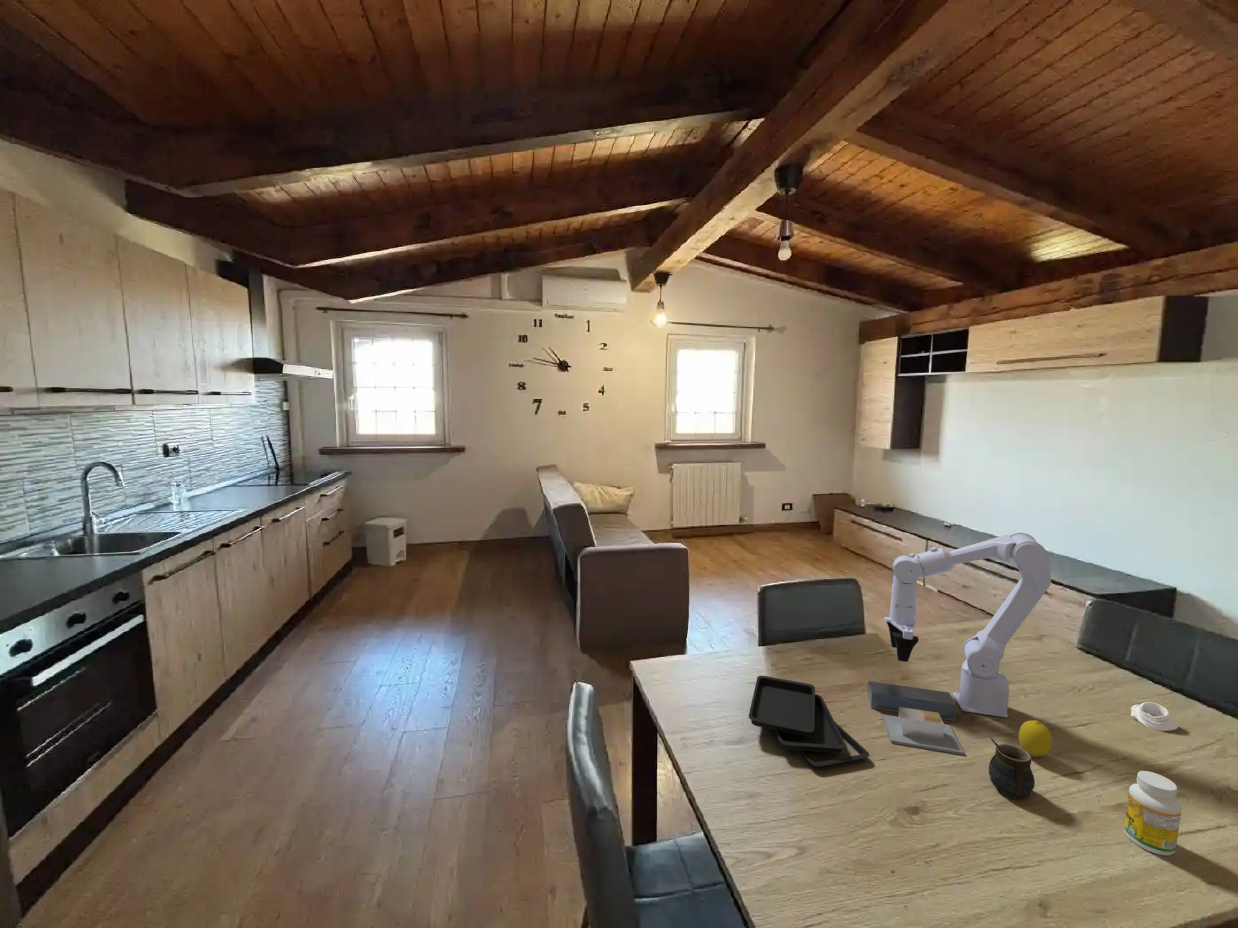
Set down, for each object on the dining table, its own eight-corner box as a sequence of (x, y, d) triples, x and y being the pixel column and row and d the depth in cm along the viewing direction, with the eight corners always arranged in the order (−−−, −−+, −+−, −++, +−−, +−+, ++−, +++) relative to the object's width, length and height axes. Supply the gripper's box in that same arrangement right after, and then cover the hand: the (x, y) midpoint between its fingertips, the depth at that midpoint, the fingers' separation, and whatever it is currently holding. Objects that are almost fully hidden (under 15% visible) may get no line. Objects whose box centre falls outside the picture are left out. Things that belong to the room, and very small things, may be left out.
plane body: (947, 707, 130) (948, 692, 129) (954, 720, 125) (956, 704, 124) (867, 695, 135) (868, 680, 134) (870, 707, 130) (872, 692, 129)
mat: (949, 727, 122) (949, 724, 122) (963, 755, 113) (964, 752, 112) (882, 716, 126) (882, 714, 126) (890, 742, 116) (891, 740, 116)
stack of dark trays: (887, 756, 112) (888, 733, 111) (802, 789, 103) (803, 764, 102) (787, 686, 139) (788, 668, 139) (713, 707, 130) (713, 687, 129)
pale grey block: (936, 729, 120) (938, 710, 120) (942, 741, 116) (944, 721, 115) (897, 722, 123) (899, 704, 122) (902, 734, 118) (903, 715, 118)
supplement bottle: (1177, 863, 86) (1187, 800, 85) (1124, 842, 90) (1133, 781, 89) (1172, 839, 91) (1181, 778, 90) (1121, 820, 95) (1129, 762, 94)
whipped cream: (1175, 727, 124) (1180, 708, 124) (1178, 738, 119) (1183, 718, 119) (1128, 711, 130) (1133, 693, 129) (1129, 721, 125) (1134, 701, 124)
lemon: (1043, 750, 114) (1047, 716, 113) (1054, 767, 109) (1058, 731, 108) (1012, 745, 116) (1016, 710, 115) (1022, 761, 111) (1026, 725, 110)
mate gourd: (1041, 806, 98) (1047, 757, 97) (996, 800, 100) (1001, 751, 99) (1021, 780, 105) (1026, 733, 104) (978, 774, 107) (983, 728, 106)
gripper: (880, 591, 144) (877, 639, 145) (891, 612, 130) (888, 664, 132) (909, 594, 142) (906, 643, 143) (924, 615, 128) (919, 669, 130)
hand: (899, 653), depth 137 cm, fingers open, 7 cm apart
